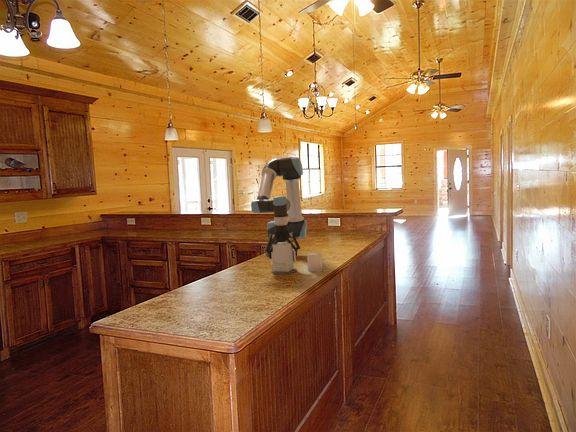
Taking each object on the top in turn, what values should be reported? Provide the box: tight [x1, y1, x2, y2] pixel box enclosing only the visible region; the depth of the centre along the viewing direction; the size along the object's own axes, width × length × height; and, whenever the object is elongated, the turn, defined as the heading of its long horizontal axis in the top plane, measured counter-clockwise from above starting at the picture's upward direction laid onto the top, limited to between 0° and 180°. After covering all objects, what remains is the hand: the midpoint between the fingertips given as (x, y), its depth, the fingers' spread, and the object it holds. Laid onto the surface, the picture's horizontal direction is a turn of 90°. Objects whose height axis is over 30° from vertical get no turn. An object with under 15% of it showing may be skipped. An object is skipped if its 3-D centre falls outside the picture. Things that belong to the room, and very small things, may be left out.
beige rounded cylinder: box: [306, 252, 324, 273], centre depth 233 cm, size 8×8×9 cm
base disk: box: [271, 267, 298, 275], centre depth 236 cm, size 14×14×1 cm
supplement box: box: [272, 241, 295, 272], centre depth 235 cm, size 9×9×15 cm
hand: (283, 263), depth 235 cm, fingers closed on supplement box, 12 cm apart
